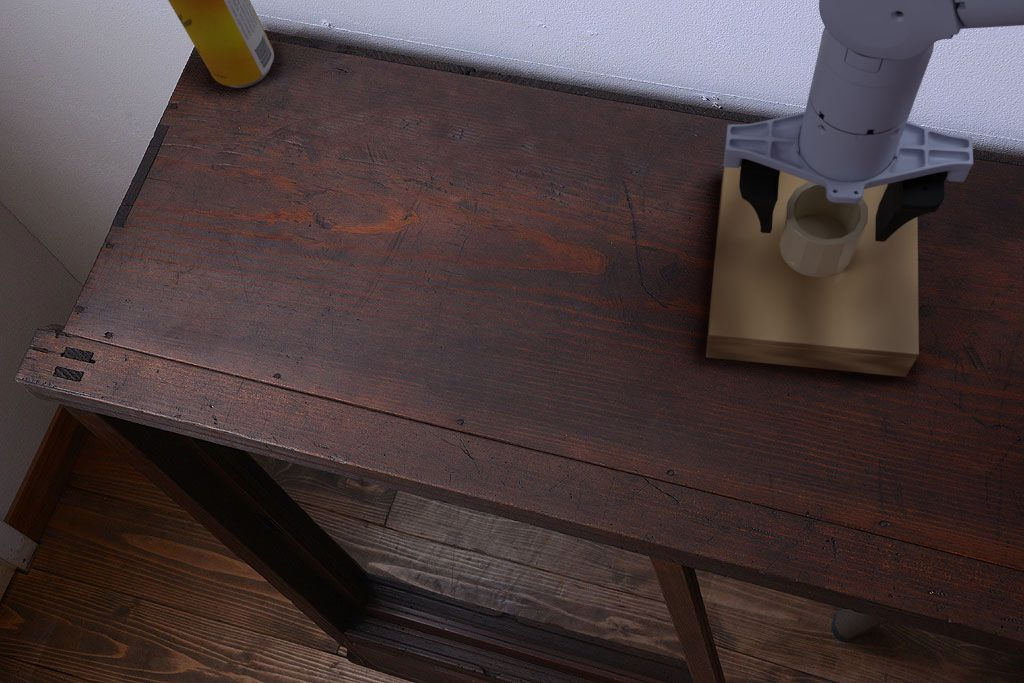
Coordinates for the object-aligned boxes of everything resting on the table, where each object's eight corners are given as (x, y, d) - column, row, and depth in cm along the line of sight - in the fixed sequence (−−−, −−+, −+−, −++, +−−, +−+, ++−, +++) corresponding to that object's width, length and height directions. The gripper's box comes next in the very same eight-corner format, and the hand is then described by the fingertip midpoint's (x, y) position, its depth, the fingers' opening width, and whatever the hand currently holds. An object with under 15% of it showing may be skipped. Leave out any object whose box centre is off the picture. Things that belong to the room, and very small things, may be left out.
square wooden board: (905, 190, 76) (917, 161, 72) (905, 377, 69) (919, 354, 66) (722, 178, 78) (725, 149, 75) (705, 357, 71) (708, 334, 68)
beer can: (223, 40, 92) (152, -93, 78) (284, 42, 91) (222, -92, 77) (205, 90, 89) (127, -38, 76) (267, 94, 88) (199, -36, 75)
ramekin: (855, 217, 71) (868, 180, 67) (854, 281, 69) (867, 248, 65) (780, 211, 72) (788, 175, 68) (777, 275, 69) (785, 241, 65)
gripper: (727, 144, 55) (712, 265, 67) (999, 160, 53) (933, 283, 65) (735, 49, 58) (720, 182, 70) (994, 59, 56) (932, 195, 68)
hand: (822, 225), depth 68 cm, fingers open, 7 cm apart
